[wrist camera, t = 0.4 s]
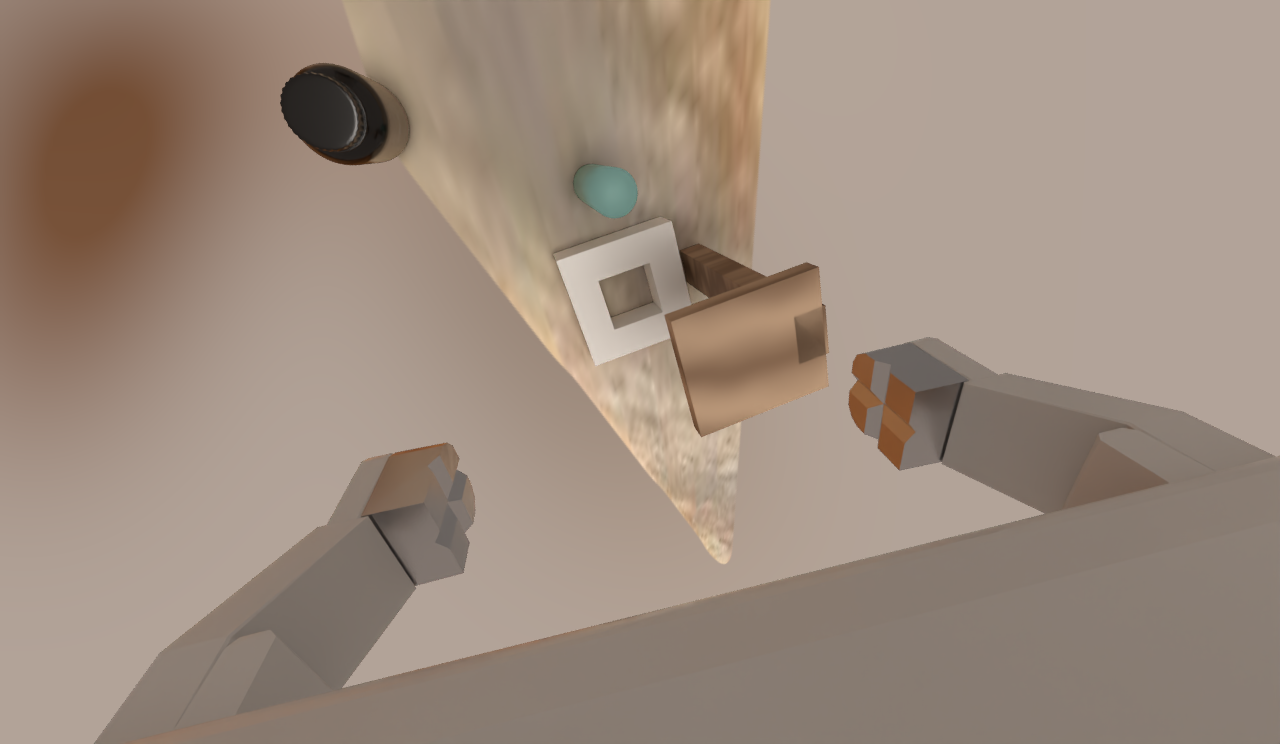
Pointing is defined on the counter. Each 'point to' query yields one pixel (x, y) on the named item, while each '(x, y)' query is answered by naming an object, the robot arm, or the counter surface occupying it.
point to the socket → (614, 256)
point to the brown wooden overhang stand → (747, 339)
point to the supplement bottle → (344, 115)
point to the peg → (606, 189)
